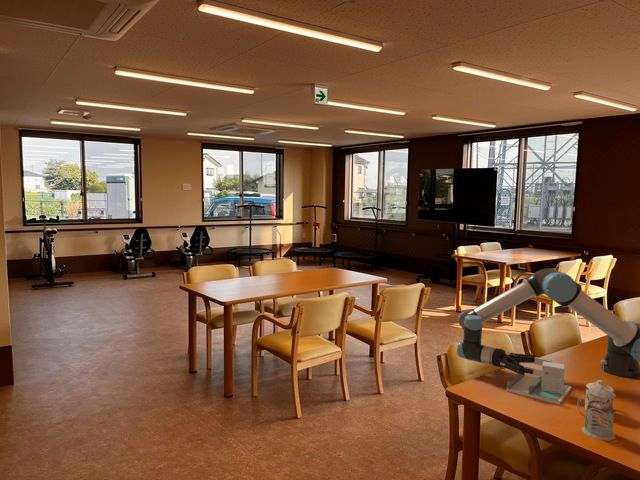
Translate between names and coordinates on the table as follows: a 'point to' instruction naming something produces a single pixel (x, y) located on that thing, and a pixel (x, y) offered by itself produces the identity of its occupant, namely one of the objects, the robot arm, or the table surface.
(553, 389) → the small box
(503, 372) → the table surface
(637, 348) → the robot arm
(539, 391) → the tray
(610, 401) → the teacup with lid
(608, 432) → the french press
